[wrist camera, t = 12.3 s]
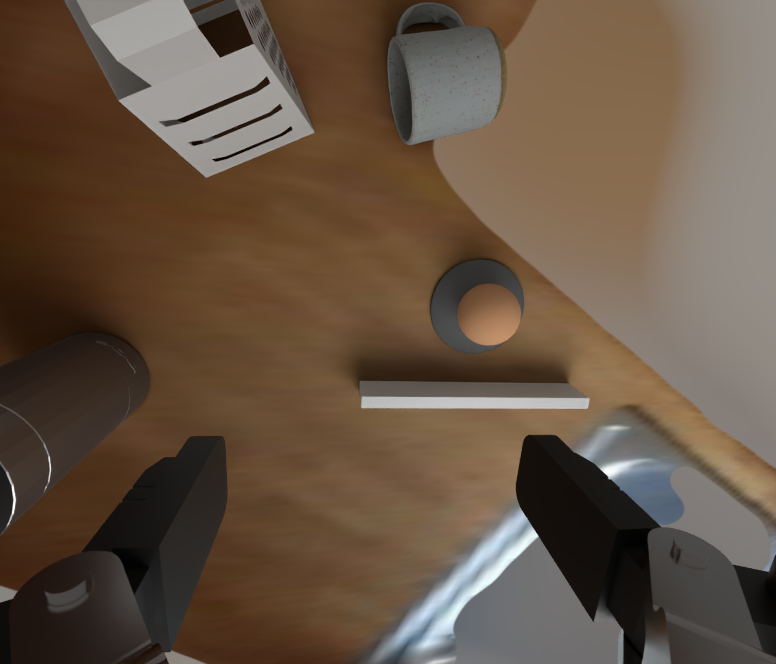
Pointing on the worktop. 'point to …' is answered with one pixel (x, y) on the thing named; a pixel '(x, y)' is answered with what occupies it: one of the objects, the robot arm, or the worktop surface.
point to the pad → (454, 290)
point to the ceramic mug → (444, 75)
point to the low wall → (470, 395)
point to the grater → (192, 76)
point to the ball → (489, 314)
